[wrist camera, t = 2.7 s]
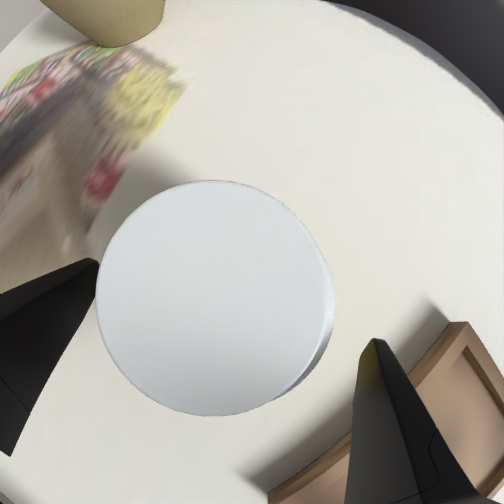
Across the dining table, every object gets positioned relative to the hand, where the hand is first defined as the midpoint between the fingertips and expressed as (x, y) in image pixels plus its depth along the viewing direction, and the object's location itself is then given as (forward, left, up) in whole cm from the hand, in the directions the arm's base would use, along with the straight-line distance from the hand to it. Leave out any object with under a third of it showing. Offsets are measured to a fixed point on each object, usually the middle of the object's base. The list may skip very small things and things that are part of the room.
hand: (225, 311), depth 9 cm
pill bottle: (0, 0, -8) cm, 8 cm away
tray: (+1, -18, -8) cm, 20 cm away
